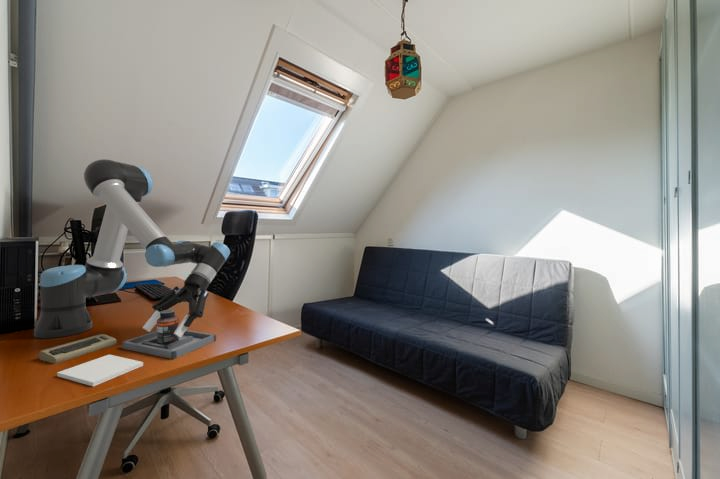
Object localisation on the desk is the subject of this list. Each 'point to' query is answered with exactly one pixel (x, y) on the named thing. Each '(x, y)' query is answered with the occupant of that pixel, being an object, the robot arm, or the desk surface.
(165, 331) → the supplement bottle
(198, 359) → the desk surface
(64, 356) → the computer
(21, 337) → the desk surface
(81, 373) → the white mat
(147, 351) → the grey rectangular frame tray
